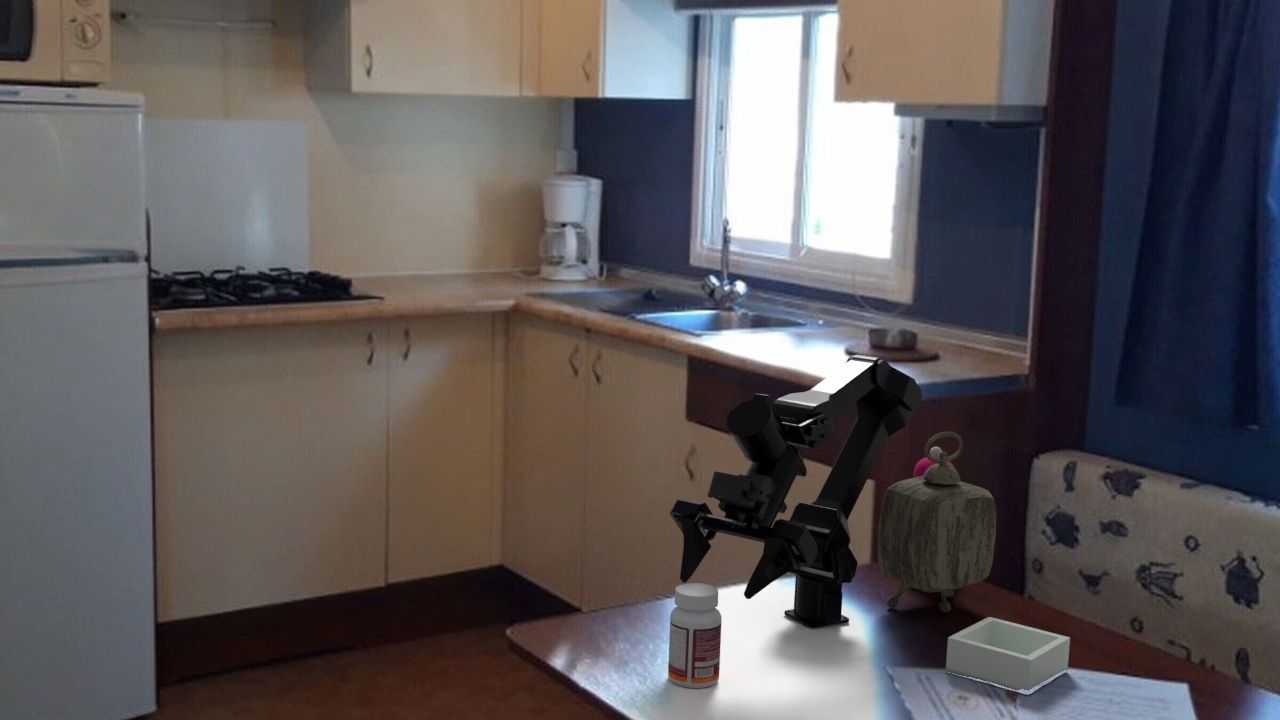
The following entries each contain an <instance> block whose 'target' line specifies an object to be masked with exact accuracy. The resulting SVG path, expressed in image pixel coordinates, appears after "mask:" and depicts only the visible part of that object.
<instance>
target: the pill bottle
mask: <svg viewBox="0 0 1280 720" xmlns="http://www.w3.org/2000/svg"><path fill="white" fill-rule="evenodd" d="M674 589H675V590H674V599H673V600H674V601H673V602H674V605H676V606H675V607H674V608H673V609H672V610H671V612H670V616H669V617H670V618H669V638H668V641H669V644H668V662H667V663H668V664H667V674H668V676H667V677H668V679H669V681H671V683H672V684H674V685H677V686H680V687H684V688H688V689H702V688H708V687H711V686H713V685H715V684H717V683H718V681H719V679H720V665H721V645H722V644H721V642H722V641H721V640H722V637H721V636H722V623H723V622H722V613H721V612H720V611H719V609H717V607H718V606H719V590H718V588H716V586H713V585H710V584H707V583H701V582H700V583H699V582H690V583H689V582H686V583H683V584H679V585H677V586H676V587H675V588H674Z"/></svg>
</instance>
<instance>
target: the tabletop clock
mask: <svg viewBox="0 0 1280 720" xmlns="http://www.w3.org/2000/svg"><path fill="white" fill-rule="evenodd" d="M945 437H946V438H948V437H949V438H954V439H956V441H958V443H959V446H958V450H957V451H956V452H955V453H953V454H951V455H948V453H947V452H946V451H942V452H941V453H940V457H939V458H934V457H931V455H930V453H929V449H930V446H931V445H932V444H933V442H935V441H936V440H939V439H941V438H945ZM963 447H964V443H963V438H962V437H961V436H960V435H959V434H958V433H956V432H953V431H942V432H938V433H935V434H934V435H933V436H931V437H930V438H929V439H928V441H927V442H926V444H925V447H924V454H925V458H926V457H927V458H928V459H929V460H930V461H932V462H935V463H939V464H934V465H931V466H930V467H928V468H927V470H926V471H925V472H924V475H923V476H919V477H915V478H914V477H912V478H907V479H903V480H900V481H897V482H895V483H892V484H891V485H890V486H888V487H887V488H886V489H885V490H886V491H885V493H884V495H883V498H882V503H881V508H880V514H879V521H878V531H877V561H878V567H879V571H880V575H882V576H883V577H886V578H889V579H891V580H894V581H897V582H899V583H901V586H900V587H899V589H898V590H897V592H896V594H895V596H893V595H892V596H889V597H888V598H887V599H886V606H887V607H889V608H890V609H896V607H897V606H899V599H900V597H902V595H903V594H905V592H906V591H908V589H911V588H914V589H916V590H919V591H920V592H924V593H936V592H937V593H938V592H940V597H941V600H942V601H941V602H940V603H939V605H938V608H939V611H940V612H941V613H943V614H948V613H949V612H950V611H951V607H952V606H951V604H950V602H949V601H947V598H950V597H952V596H954V594H955V590H956V589H960V588H963V587H966V586H970V585H973V584H978V583H980V582H982V581H984V580H985V579H986V578H987V577H989V575H990V572H991V569H992V565H993V560H994V554H995V545H996V533H997V506H996V501H995V499H994V497H993V495H992V494H991V492H990V491H989V490H988V489H985V488H984V487H980V486H977V485H975V484H972V483H968V482H964V481H961V477H960V474H959V472H958V470H957V468H955V467H954V465H953V466H951V465H948V464H947V462H951V461H953V460H954V459H957V458H958V457H959V455H960V454H961V453H962V450H963Z"/></svg>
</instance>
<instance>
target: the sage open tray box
mask: <svg viewBox="0 0 1280 720" xmlns="http://www.w3.org/2000/svg"><path fill="white" fill-rule="evenodd" d="M1070 644H1071V637H1069V636H1065V635H1062V634H1059V633H1054V632H1050V631H1046V630H1044V629H1039V628H1036V627H1035V628H1034V627H1030V626H1027V625H1023V624H1019V623H1016V622H1011V621H1007V620H1003V619H999V618H997V617H996V618H995V617H991V616H988V617H985V618H983V619H982V620H980V621H978V622H976V623H974V624H972V625H970V626H968V627H965V628H964V629H962V630H960V631H958V632H956V633H954V634H952V635H950V636H949V637H947V646H946V648H947V649H946V660H945V661H946V662H945V673H946V672H950V673H954V674H957V675H961V676H966V677H972V678H975V679H980V680H983V681H989V682H992V683H995V684H998V685H1001V686H1004V687H1007V688H1011V689H1014V690H1020V689H1024V690H1028V691H1029V690H1030V689H1032V688H1033V687H1035V686H1037V685H1039V684H1040V683H1042V682H1044V681H1046V680H1048V679H1049V678H1051V677H1053V676H1054V675H1056V674H1058V673H1060V672H1062V671H1064V670H1067V671H1068V670H1069V669H1068V668H1069V667H1068V666H1069V655H1070Z"/></svg>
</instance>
